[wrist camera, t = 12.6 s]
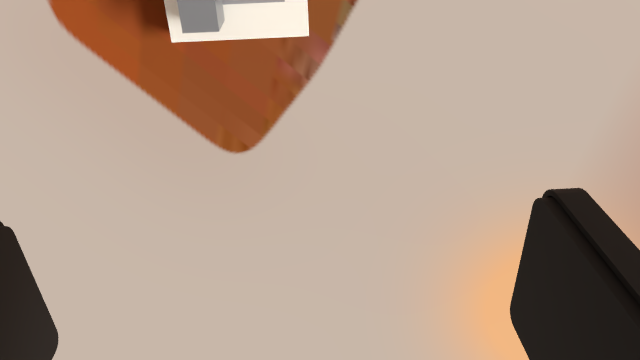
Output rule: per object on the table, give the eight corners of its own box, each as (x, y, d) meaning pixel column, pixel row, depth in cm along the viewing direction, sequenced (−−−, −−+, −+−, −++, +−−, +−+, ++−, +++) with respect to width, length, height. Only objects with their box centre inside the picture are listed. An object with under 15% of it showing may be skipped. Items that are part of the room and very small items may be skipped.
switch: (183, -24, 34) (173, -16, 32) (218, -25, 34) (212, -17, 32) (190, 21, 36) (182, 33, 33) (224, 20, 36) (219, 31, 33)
